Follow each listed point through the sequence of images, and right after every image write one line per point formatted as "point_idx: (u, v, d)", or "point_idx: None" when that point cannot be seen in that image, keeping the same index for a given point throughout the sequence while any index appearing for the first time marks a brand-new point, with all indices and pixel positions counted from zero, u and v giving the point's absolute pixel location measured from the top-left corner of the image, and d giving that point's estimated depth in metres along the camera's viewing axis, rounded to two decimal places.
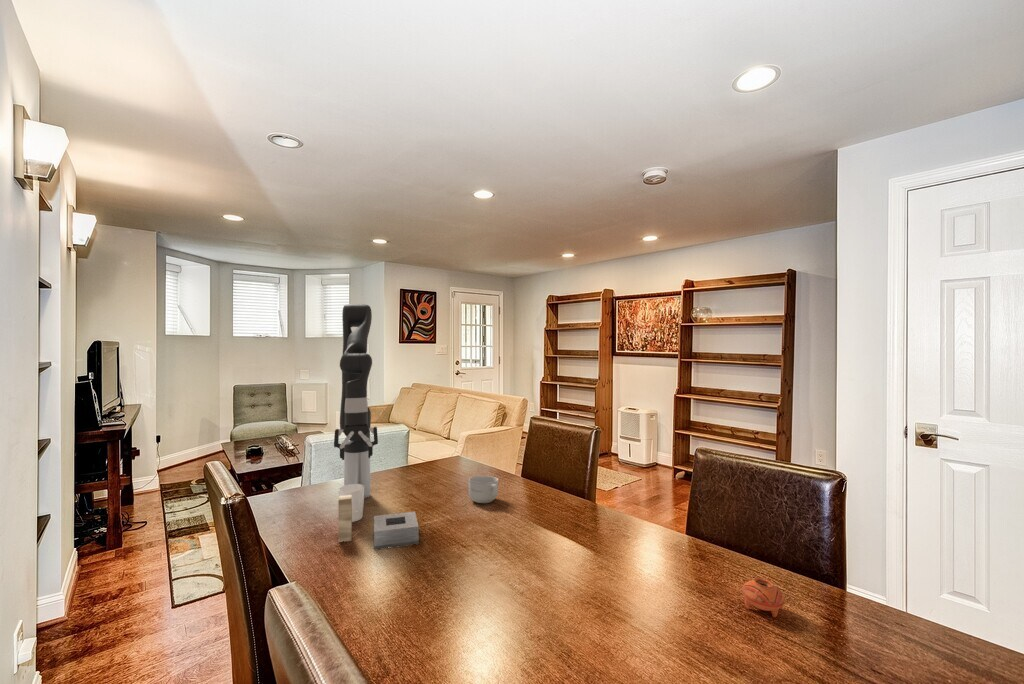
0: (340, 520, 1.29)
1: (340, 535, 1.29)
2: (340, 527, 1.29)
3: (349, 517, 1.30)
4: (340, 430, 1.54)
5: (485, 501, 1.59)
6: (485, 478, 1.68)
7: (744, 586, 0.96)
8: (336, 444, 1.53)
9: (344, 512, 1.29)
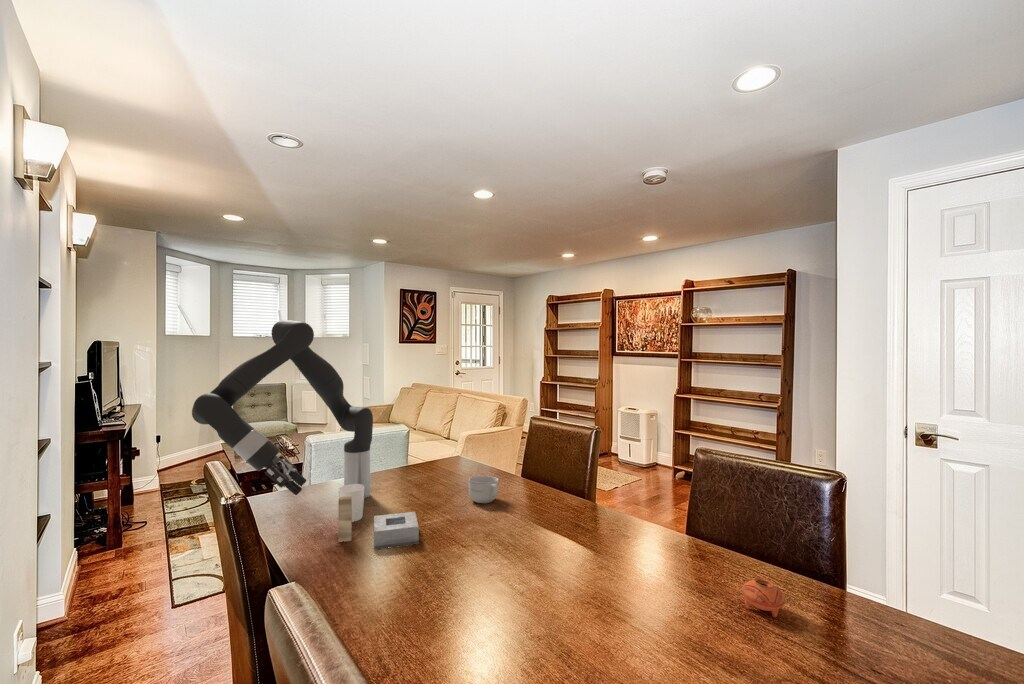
0: (340, 520, 1.29)
1: (340, 535, 1.29)
2: (340, 527, 1.29)
3: (349, 517, 1.30)
4: None
5: (485, 501, 1.59)
6: (485, 478, 1.68)
7: (744, 586, 0.96)
8: None
9: (344, 512, 1.29)
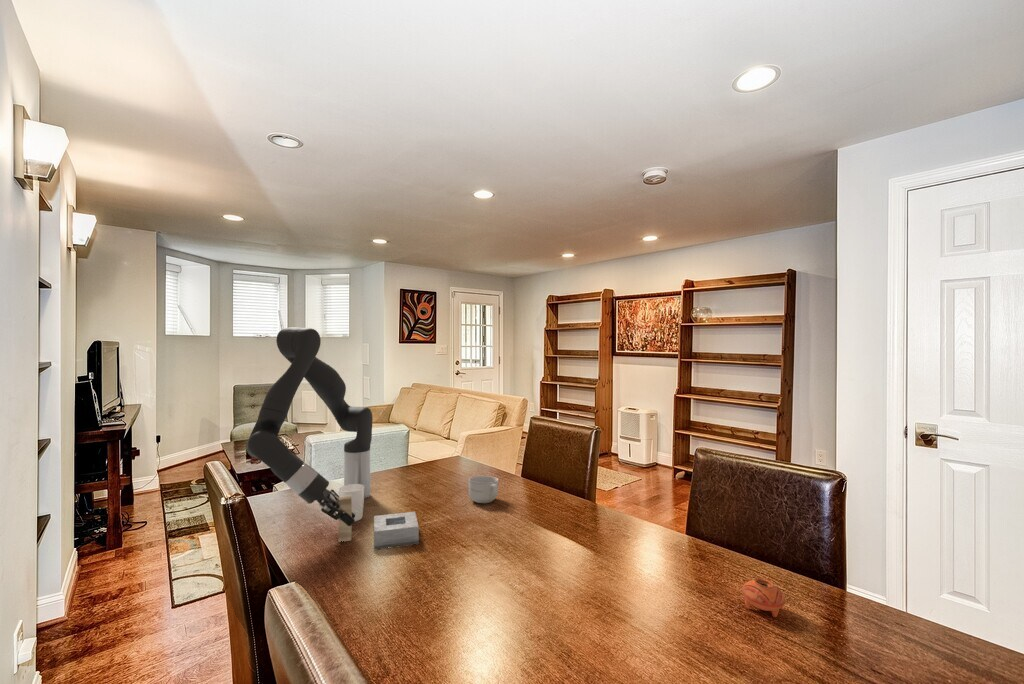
0: (340, 520, 1.29)
1: (340, 535, 1.29)
2: (340, 527, 1.29)
3: None
4: None
5: (485, 501, 1.59)
6: (485, 478, 1.68)
7: (744, 586, 0.96)
8: None
9: None
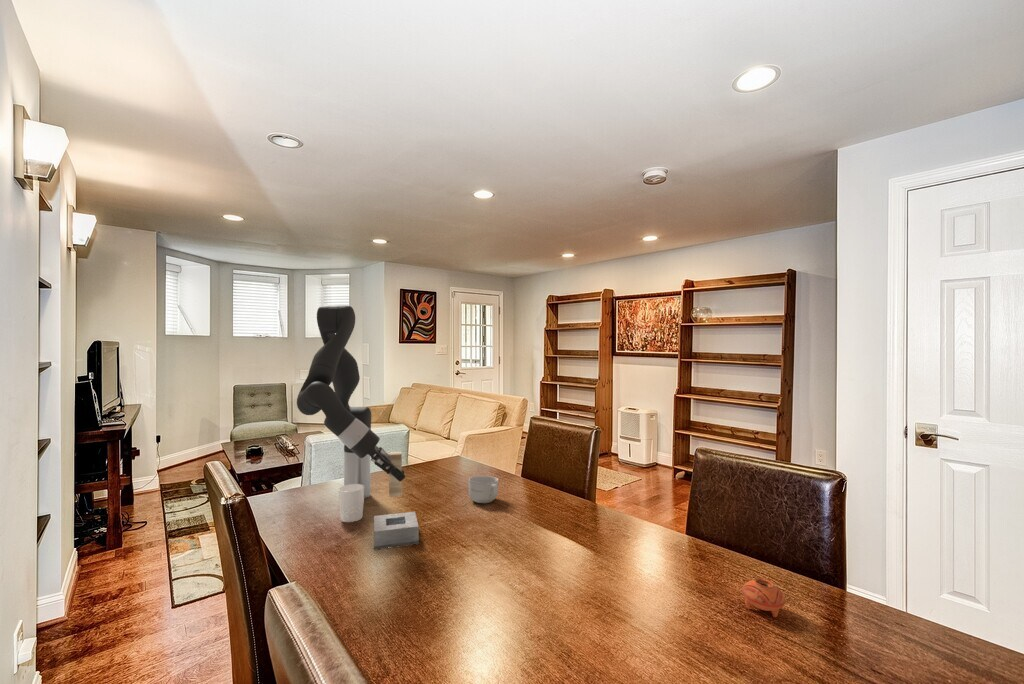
0: (391, 475, 1.29)
1: (391, 490, 1.29)
2: (391, 482, 1.29)
3: None
4: None
5: (485, 501, 1.59)
6: (485, 478, 1.68)
7: (744, 586, 0.96)
8: None
9: None
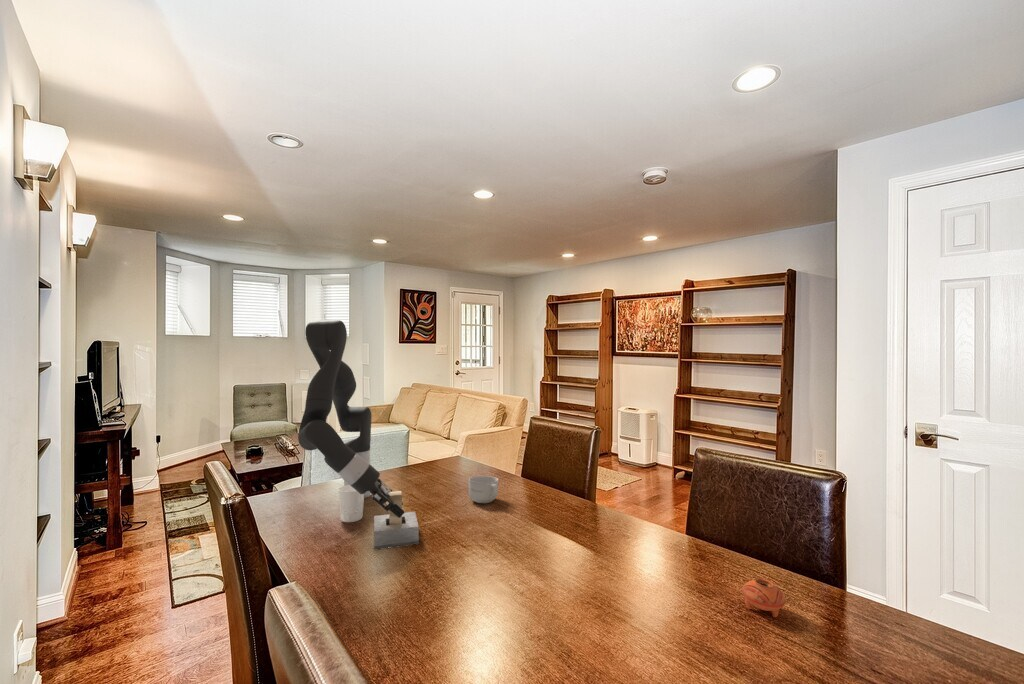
0: (391, 516, 1.29)
1: None
2: (391, 523, 1.29)
3: None
4: None
5: (485, 501, 1.59)
6: (485, 478, 1.68)
7: (745, 586, 0.96)
8: None
9: None
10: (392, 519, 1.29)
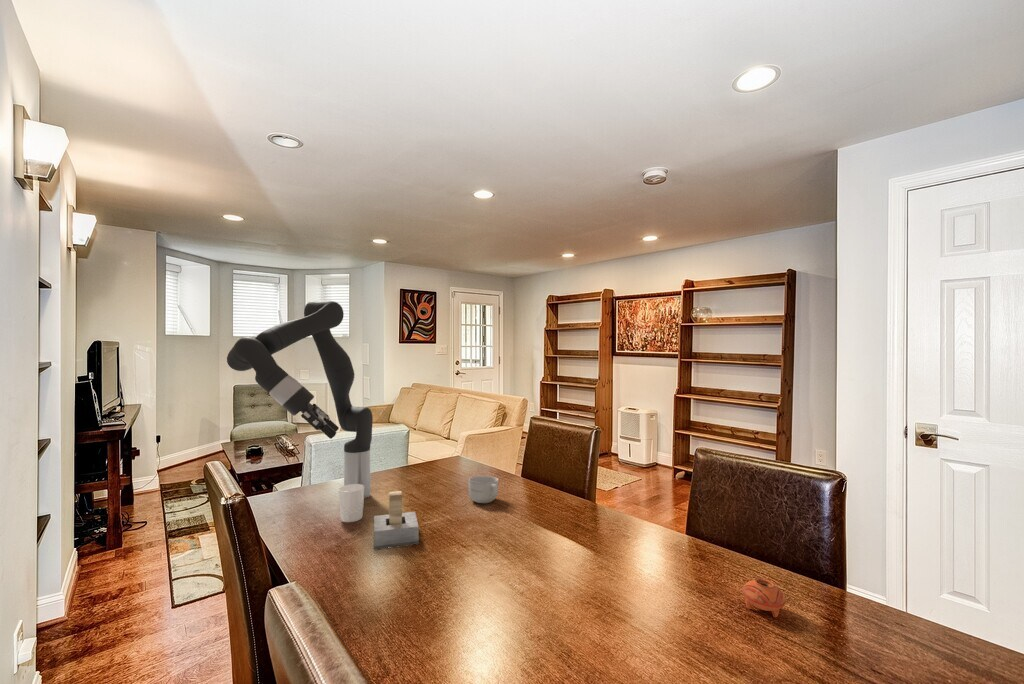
0: (391, 516, 1.29)
1: None
2: (391, 523, 1.29)
3: (400, 513, 1.30)
4: None
5: (485, 501, 1.59)
6: (485, 478, 1.68)
7: (745, 586, 0.96)
8: None
9: (395, 507, 1.30)
10: (392, 519, 1.29)
